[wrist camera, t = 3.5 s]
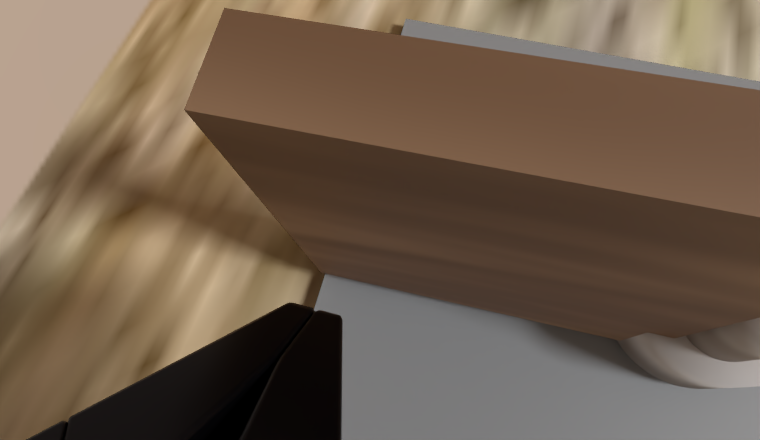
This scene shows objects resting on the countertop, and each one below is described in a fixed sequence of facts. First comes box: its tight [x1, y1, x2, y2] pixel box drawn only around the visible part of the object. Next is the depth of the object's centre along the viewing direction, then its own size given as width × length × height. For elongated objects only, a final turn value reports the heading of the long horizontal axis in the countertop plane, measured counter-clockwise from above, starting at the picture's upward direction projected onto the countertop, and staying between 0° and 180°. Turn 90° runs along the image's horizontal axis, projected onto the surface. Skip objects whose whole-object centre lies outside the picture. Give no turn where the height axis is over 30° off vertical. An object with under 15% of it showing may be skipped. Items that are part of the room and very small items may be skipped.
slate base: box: [314, 19, 760, 440], centre depth 15 cm, size 14×12×1 cm
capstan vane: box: [184, 8, 760, 389], centre depth 10 cm, size 4×12×9 cm, turn 76°
